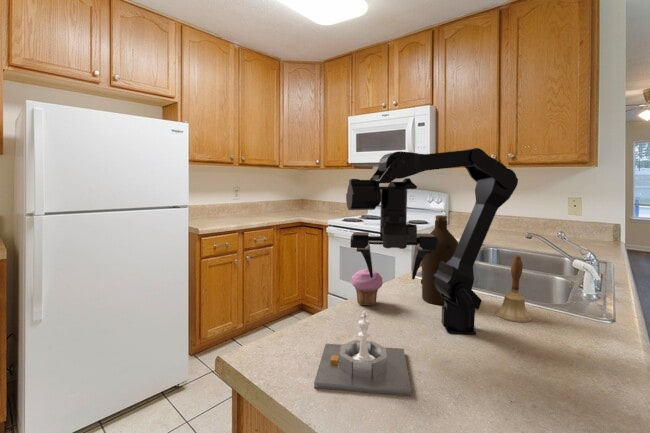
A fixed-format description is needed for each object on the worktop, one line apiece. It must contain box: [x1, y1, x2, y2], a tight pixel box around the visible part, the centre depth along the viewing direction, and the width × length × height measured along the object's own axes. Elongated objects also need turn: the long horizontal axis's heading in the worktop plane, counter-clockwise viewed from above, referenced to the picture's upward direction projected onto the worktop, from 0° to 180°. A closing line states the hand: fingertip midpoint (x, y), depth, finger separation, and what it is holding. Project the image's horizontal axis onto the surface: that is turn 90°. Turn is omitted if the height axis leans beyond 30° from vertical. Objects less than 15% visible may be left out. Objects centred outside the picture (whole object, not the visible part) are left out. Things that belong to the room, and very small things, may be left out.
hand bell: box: [495, 255, 533, 323], centre depth 88 cm, size 8×8×16 cm
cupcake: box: [350, 268, 384, 306], centre depth 97 cm, size 9×9×10 cm
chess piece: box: [352, 310, 375, 361], centre depth 63 cm, size 5×5×10 cm
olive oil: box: [420, 214, 459, 306], centre depth 100 cm, size 11×11×25 cm
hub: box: [313, 339, 412, 397], centre depth 63 cm, size 16×14×4 cm
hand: (392, 278), depth 77 cm, fingers open, 9 cm apart
